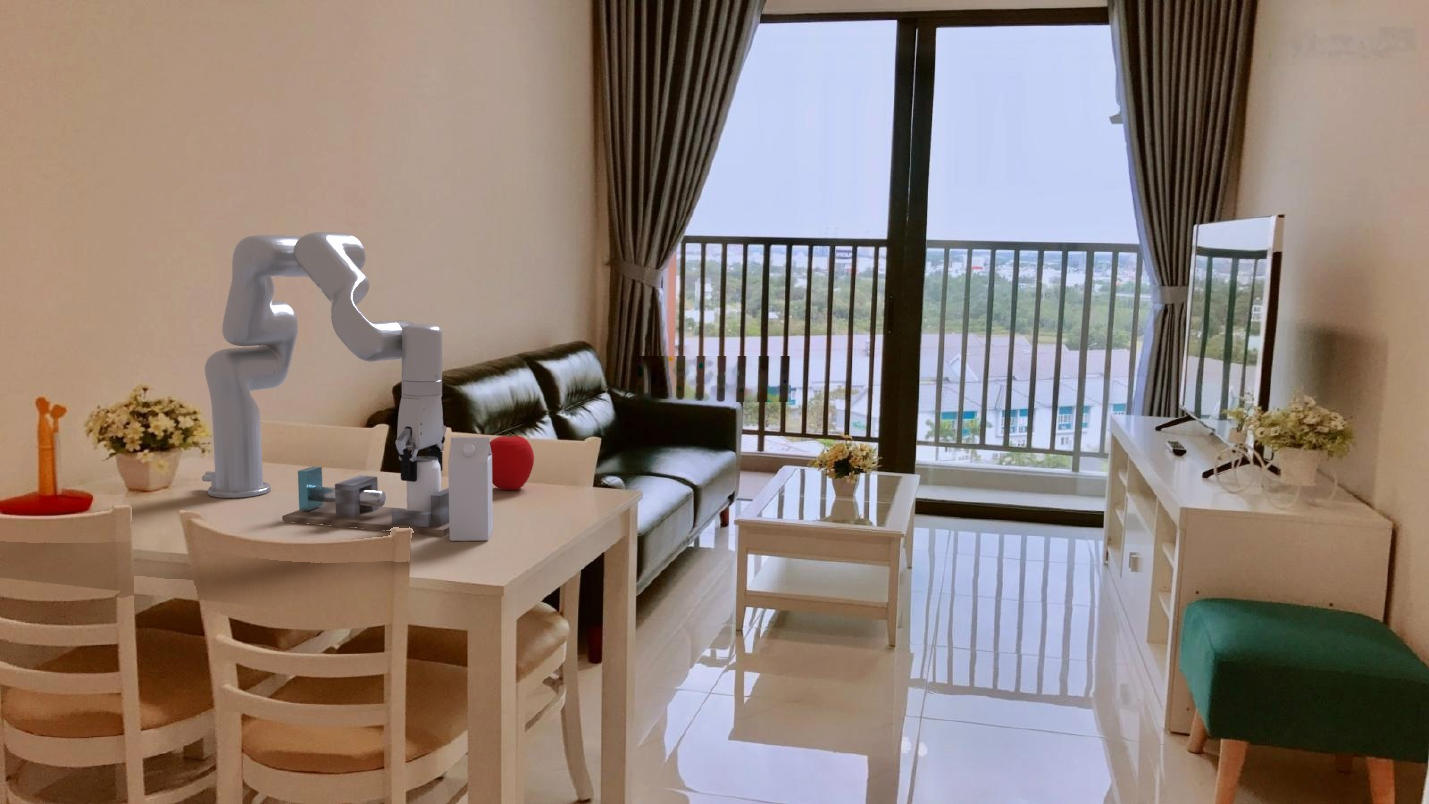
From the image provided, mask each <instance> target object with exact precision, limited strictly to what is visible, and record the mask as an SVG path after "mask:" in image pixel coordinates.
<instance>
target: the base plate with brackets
mask: <svg viewBox="0 0 1429 804" xmlns="http://www.w3.org/2000/svg"><path fill="white" fill-rule="evenodd" d="M378 485H379V484H378V476H372V475H357V476H354V477H351V478H348V479H346V480H342V481H339V482H337V483H334V488H335V503H330V502H323V505H322V506H319V507H316V508H314V509H311V510H308V511H307V510H299V509H298V510H294V511H292V512H290V513H287V514H284V515H282V516H281V517H282V518H281V519H282V521H284V522H283V523H289V522H295V523H294V524H300V523H309V524H308V525H312V524H323V525H331V526H330V527H334V526H341V527H340V528H345V527H357V528H364V529H363V530H368V529H370V531H371V530H372V531H379V530H385V531H384V532H387V531H386V530H390V529H391V528H393V527H399V528H409V527H410V528H412V529H413V531H414V534H415V535H425V536H426V535H427V536H435V535H437V537H445V536H447V535H450V531H449V487H447V488H445V489H441V491H440V492H437V493H435V494H432V495H431V512H419V511H407V508H403V507H401V508H400V507H389V506H382V507H379V506H367V505H359V490H370V491H379V490H378V489H379V488H378ZM323 525H322V526H323ZM357 528H356V529H357Z"/></svg>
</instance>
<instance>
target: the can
mask: <svg viewBox="0 0 1429 804" xmlns="http://www.w3.org/2000/svg"><path fill="white" fill-rule="evenodd" d="M414 461H417V481H415V482H411V481H406V504H407V505H406V509H407V511H419V512H431V495H432V494H435V493H437V492H440V491H442V475H441V472H442V471H441V468H440V464H439V462H438V458H437V457H433V456H427V455H422V456H421V455H418V456H416V458H415V460H414Z"/></svg>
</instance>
